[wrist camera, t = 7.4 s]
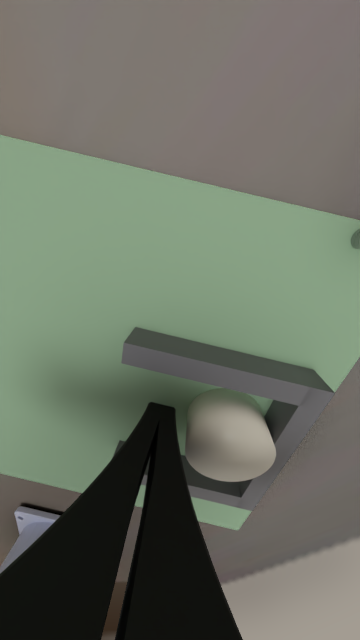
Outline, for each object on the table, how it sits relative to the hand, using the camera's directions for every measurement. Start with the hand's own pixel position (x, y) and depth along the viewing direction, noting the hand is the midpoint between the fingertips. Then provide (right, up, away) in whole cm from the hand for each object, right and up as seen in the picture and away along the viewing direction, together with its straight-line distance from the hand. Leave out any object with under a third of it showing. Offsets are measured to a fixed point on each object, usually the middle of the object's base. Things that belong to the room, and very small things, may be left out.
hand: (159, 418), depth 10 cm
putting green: (-5, +2, +1) cm, 5 cm away
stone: (+3, 0, +1) cm, 3 cm away
